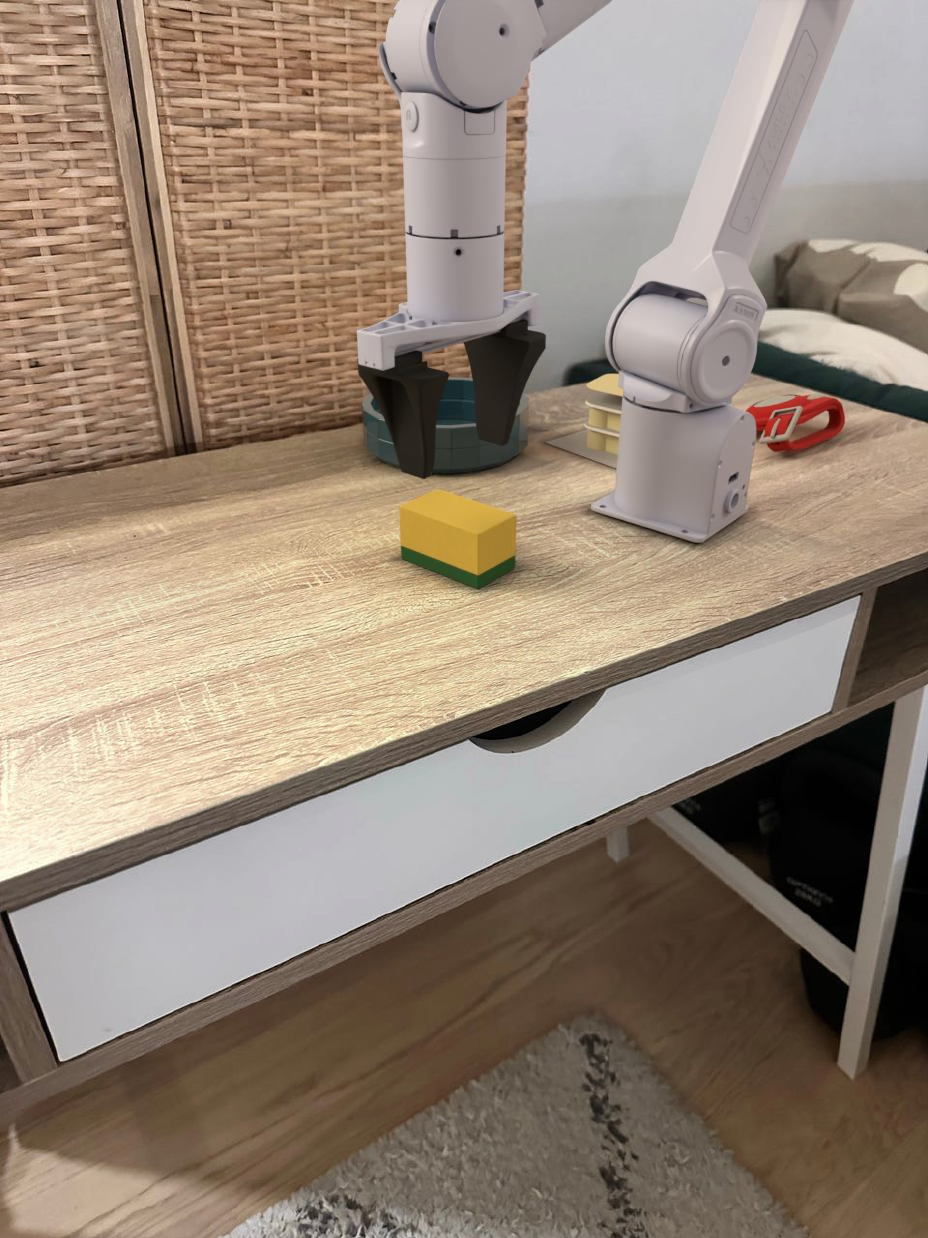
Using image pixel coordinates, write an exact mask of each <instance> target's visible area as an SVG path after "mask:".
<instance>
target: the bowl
mask: <svg viewBox="0 0 928 1238" xmlns="http://www.w3.org/2000/svg"><path fill="white" fill-rule="evenodd" d="M529 413H530V398H529V397H528V396H527V394H526V393H524V392H523V393H522V396H521V399H520V403H519V406H518V409H517V413H516V416H515V420H514V424H513V427H512V431H511V434H510V438H509V441H508V444H506V445H503V446H501V445H497V444H494V443H490V442H486V441H483V440H479V437H478V433H477V427H476V418H475V398H474V385H473V379H472V377H456V376H455V377H452V376H451V377H450V376H449V378H448V380H447V383H446V385H445V388H444V391H443V394H442V398H441V401H440V406H439V411H438V416H437V423H436V438H435V461H434V467H433V472H432V474H461V473H470V472H471V473H472V472H477V471H483V470H487V469H491V468H495V467H498V466H501V465H502V464H505V463H507V462H509V461H511V460H512V459H513V458H515V457H517V456H519V455H520V454H521V453H522V452H523V451H524V450H525V449H526V448H527V447H528V442H529ZM361 416H362V417H361V418H362V434H363V435H362V436H363V444H364V446H365V448H366V450H367V452H369V453H370V454H372V455H373V456H375V457H376V458H377V459H379V460H380V461H381V462H383V463H385V464H388V465H390V466H393V467H394V468H395V467H396V468H399V469H400V465H399V462H398V458H397V455H396V452H395V448H394V445H393V442H392V439H391V436H390V433H389V430H388V427H387V425H386V422H385V420H384V417H383V415H382V413H381V411H380V409H379V407H378V405H377V403H376V401H375V399H374V397H373V396H372V394H371V392H369V393H367V394H366V395H365V397H364V398H363V400H362V402H361Z"/></svg>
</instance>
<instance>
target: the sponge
mask: <svg viewBox="0 0 928 1238" xmlns="http://www.w3.org/2000/svg"><path fill="white" fill-rule="evenodd" d="M398 514H399V515H398V516H399V537H400V556H401V557H400V558H401V560H404V561H407V562H409V563H411V564H414V565H416V566H419V567H422V568H424V569H426V570H429V571H431V572H434V573H437V574H439V575H442V576H444V577H446V578H448V579H452V580H454V581H457V582H459V583H462V584H465V585H466V586H469V587H471V588H473V589H477V590H479V589H481V588H483V587H485V586H486V585H488V584H490V583H491V582H494V581H495V580H497V579H498V578H500V577H502V576H504V575H505V574H507V573H509V572H511V571H513V570H514V569H515V568H516V553H517V552H516V551H517V548H516V547H517V546H516V545H517V517H518V516H517V514H516V513H513V512H510V511H506V510H504V509H500V508H497V507H495V506H491V505H488V504H487V503H483V502H480V501H476V500H473V499H470V498H467V497H465V496H462V495H458V494H456V493H452V492H449V491H446V490H443V489H441V488H436V489H433V490H432V491H430V492H428V493H425V494H423V495H421V496H419V497H416V498H413V499H411V500H409V501H407V502H405V503H403V504H400V505H399V506H398Z"/></svg>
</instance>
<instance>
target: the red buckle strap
mask: <svg viewBox="0 0 928 1238" xmlns="http://www.w3.org/2000/svg"><path fill="white" fill-rule="evenodd" d="M745 411H746V412H748V413H750V414H752V415H753V416H754V418H755V422H756V432H762V434H761V435H760V437H759V440H758V443H759V444H760V445H766V446H767V447H768V449H770V450H771V451H772V452H774V453H778V452H779V453H780V452H788V451H789V452H790V451H791V452H792V451H799V450H804V449H807V448H809V447H812V446H814V445H817V444H820V443H822V442H824V441H826V440H829V439H831V438H834V437H836V436H838V435H839V434H840V433H841V432H842V430H843V429H844V427H845V423H846V416H845V415H846V414H845V411H844V407H843V403H842V402H841V401H840V400H839V399H837V398H835V397H830V396H826V395H825V394H824V393H814V394H806V395H800V394H784V395H777V396H773V397H769V398H766V399H765V398H764V399H763V400H759V401H757V402H756V403H753V404H752V405H750V406H749V407H747V409H746V410H745ZM825 412H828V423H827V425H826V426H825V427H823V428H822V429H819V430H816V431H815V432H812V433H810V434H807V435H805V436H803V437H800V438H798V439H795V440H793V441H790V437H791V435H792V434H793V433H794V432H795V427H796V426H800V425H802V424H805V423H807V422H809V421H810V420H812V419H814V418H815V417H818V416H819V415H821V414H823V413H825Z"/></svg>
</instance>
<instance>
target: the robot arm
mask: <svg viewBox="0 0 928 1238" xmlns="http://www.w3.org/2000/svg"><path fill="white" fill-rule="evenodd" d="M854 1H855V0H760V1H759V5H758V7H757V10H756V13H755V16H754V18H753V20H752V24H751V27H750V29H749V33H748V34H747V38H746V40H745V43H744V46H743V49H742V51H741V53H740V57H739V59H738V62H737V64H736V67H735V71H734V73H733V76H732V78H731V81H730V84H729V86H728V89H727V92H726V95H725V98H724V101H723V103H722V106H721V108H720V111H719V114H718V117H717V119H716V122H715V125H714V127H713V130H712V133H711V136H710V138H709V140H708V141H709V142H708V143H707V147H706V149H705V152H704V155H703V157H702V161H701V163H700V166H699V168H698V171H697V174H696V177H695V180H694V182H693V185H692V188H691V190H690V193H689V196H688V198H687V201H686V204H685V206H684V210H683V212H682V215H681V217H680V220H679V223H678V226H677V228H676V231H675V234H674V237H673V239H672V242H671V243H670V244H669V245H668V246H667V247H666V248H664V249H662V250H661V251H659V252H658V253H657V254H656V255H654V256H653V257H651V258H649V259H648V260H646V262H644V263H643V264H642V265H640V267H639V268H638V269H637V272H636V275H635V277H634V280H633V282H632V284H631V287H630V288H629V290H628V292H627V294H625V296H624V297H623V299H621V300H620V302H619V303H618V304H617V305H616V307H615V309H613V311H612V314H610V315H611V316H610V317H609V319H608V322H607V326H606V330H605V335H604V349H605V355H606V357H607V360H608V362H609V364H610V365H611V367H612V368H613V369H614V370H615V371H616V372H617V373H618V374H619V379H618V387H620V388H622V389H623V398H622V410H621V422H620V434H619V446H618V458H617V469H616V471H615V472H616V473H615V484H614V491H613V492H610V493H609V494H607V495H605V496H603V497H601V498H599V499H597V500H595V501H594V502H592V503H591V504H590V510H591V511H592V512H594V513H598V514H601V515H605V516H608V517H612V518H614V519H617V520H620V521H624V522H627V523H630V524H634V525H637V526H640V527H643V528H647V529H650V530H653V531H656V532H659V533H663V534H665V535H669V536H672V537H675V538H679V539H682V540H685V541H688V542H692V543H694V544H695V543H696V544H701V543H704V542H706V541H707V540H708V539H710V538H711V537H713V536H714V535H716V534H717V533H718V532H720V531H721V530H723V529H724V528H725V527H727V526H729V525H731V523H733V522H735V521H736V520H737V519H738V518H740V517H741V516H743V515H744V514H746V513H748V512H749V509H750V505H749V504H748V503H747V499H748V492H749V485H750V478H751V475H752V467H753V461H754V456H755V448H756V441H757V431H756V422H755V418H754V416H753V415H752V414H750V413H748V412H746V410H743V409H740V408H737V407H735V406H734V405H733V404H732V402H733V397H734V396H736V395H737V394H738V392H740V390H741V389H742V388H743V387H744V385H745V384H746V382H747V381H748V379H749V377H750V375H751V373H752V370H753V368H754V365H755V362H756V358H757V354H758V353H757V352H758V339H759V332H760V329H761V324H762V321H763V318H764V316H765V314H766V311H767V309H768V303H767V301H766V299H765V297H764V295H763V293H762V292H761V290H760V288H759V287H758V284H757V282H756V281H755V279H754V277H753V275H752V273H751V272H750V268H749V267H750V265H751V262H752V260H753V257H754V255H755V252H756V250H757V247H758V245H759V243H760V239H761V237H762V234H763V232H764V230H765V228H766V225H767V222H768V219H769V217H770V215H771V212H772V209H773V207H774V204H775V202H776V199H777V197H778V194H779V192H780V189H781V187H782V185H783V182H784V179H785V177H786V174H787V172H788V169H789V167H790V163H791V161H792V158H793V156H794V155H795V151H796V149H797V146H798V144H799V141H800V139H801V137H802V133H803V132H804V129H805V126H806V123H807V122H808V118H809V116H810V113H811V111H812V108H813V106H814V103H815V100H816V98H817V95H818V93H819V90H820V88H821V86H822V83H823V81H824V77H825V75H826V73H827V70H828V68H829V65H830V62H831V60H832V58H833V55H834V52H835V50H836V48H837V45H838V42H839V40H840V37H841V35H842V32H843V29H844V27H845V25H846V23H847V19H848V17H849V14H850V13H851V11H852V7H853V4H854ZM611 2H613V0H398V1H397V2H396V4H395V6H394V8H393V9H392V10H393V12H394V14H393V16H391V17H389V19H388V22H387V27H386V32H385V41H382V42H383V43H379V44H378V45H377V51H378V59H379V63H380V67H381V70H382V73H383V75H384V77H385V80H386V81H387V84H388V85H389V86H390V88H391V90H392V92H393V93H394V94H395V95H396V97H397V99H398V103H399V107H400V127H401V137H402V141H401V144H402V145H401V147H402V166H403V167H402V171H403V175H402V176H403V202H404V203H403V204H404V206H403V207H404V232H405V233H404V234H405V235H404V236H405V238H404V240H405V267H406V268H405V269H406V270H405V271H406V272H405V273H406V300H407V301H404V302H400V303H399V304H398V312H397V313H395V314H393V315H391V316H389V317H387V318H385V319H383V320H381V321H379V322H377V323H375V324H373V325H369V326H367V327H364V328H359V329H357V330H356V340H357V341H356V342H357V359H356V362H357V374H358V375H359V377H360V378H361V380H362V382H363V383H364V384H365V386H366V388H367V389H368V391H369V393H371V394H372V396H373V397H374V399H375V401H376V403H377V405H378V407H379V409H380V411H381V413H382V415H383V417H384V420H385V422H386V425H387V427H388V430H389V433H390V436H391V439H392V442H393V445H394V448H395V452H396V455H397V458H398V462H399V465H400V468H399V469H400V472H401V473H404V474H407V475H410V476H413V477H416V478H419V479H421V480H425V479H427V478H430V477H432V476H433V473H432V472H433V467H434V461H435V438H436V423H437V416H438V411H439V406H440V401H441V398H442V394H443V391H444V388H445V385H446V383H447V380H448V378H449V377H450V373H449V372H448V371H445V370H441V369H436V368H433V367H429V365H428V363H429V362H428V361H427V360H424V361H423V355H425V354H429V353H432V352H437V351H439V350H443V349H445V348H446V349H447V348H449V347H453V346H456V345H459V344H462V343H463V346H464V350H465V352H466V355H467V356H466V357H467V360H468V362H469V367H470V373H471V378H472V379H473V385H474V398H475V418H476V427H477V433H478V437H479V440H483V441H486V442H490V443H494V444H497V445H501V446H503V445H506V444H508V441H509V438H510V434H511V431H512V427H513V424H514V420H515V416H516V413H517V409H518V406H519V403H520V399H521V396H522V393H524V391H525V388H526V385H527V383H528V380H529V378H530V376H531V374H532V372H533V370H534V368H535V366H536V365H537V363H538V361H539V360H540V357H541V356H542V355H543V354H544V351H545V350H546V348H547V347H546V345H547V335H546V333H544V332H541V331H537V330H531V329H529V327H534V326H537V325H539V324H540V321H541V320H540V319H541V315H540V314H541V293H537V292H531V291H525V290H518V289H515V290H511V291H504V289H505V288H504V287H505V286H504V285H505V232H506V231H505V227H506V226H505V223H506V217H505V216H506V214H505V213H506V172H507V171H506V170H507V169H506V168H507V165H506V164H507V126H508V125H507V121H508V120H507V119H508V100H512V99H515V97H516V96H517V94H518V93H519V92H520V90H521V88H522V87H523V85H524V84H525V81H526V79H527V76H528V74H529V71H530V67H531V64H532V62H533V61H534V60H535V59H537V58H538V57H539V56H541V55H543V53H545V52H546V51H548V50H549V49H550V48H552V47H553V46H554V45H555V44H557V43H559V41H561V40H562V39H564V38H565V37H566V36H567V35H569V34H570V33H572V32H573V31H575V30H576V29H577V28H578V27H579V26H582V24H584V23H585V22H586V21H588V20H590V19H591V18H592V17H593V16H595V15H596V14H597V13H598V12H600V11H601V10H602V9H603V8H605V7H606V6H608V5H610V3H611ZM690 299H699V300H703V301H706V302H707V305H703V304H700V303H696V302H693V301H689V300H690Z"/></svg>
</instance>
